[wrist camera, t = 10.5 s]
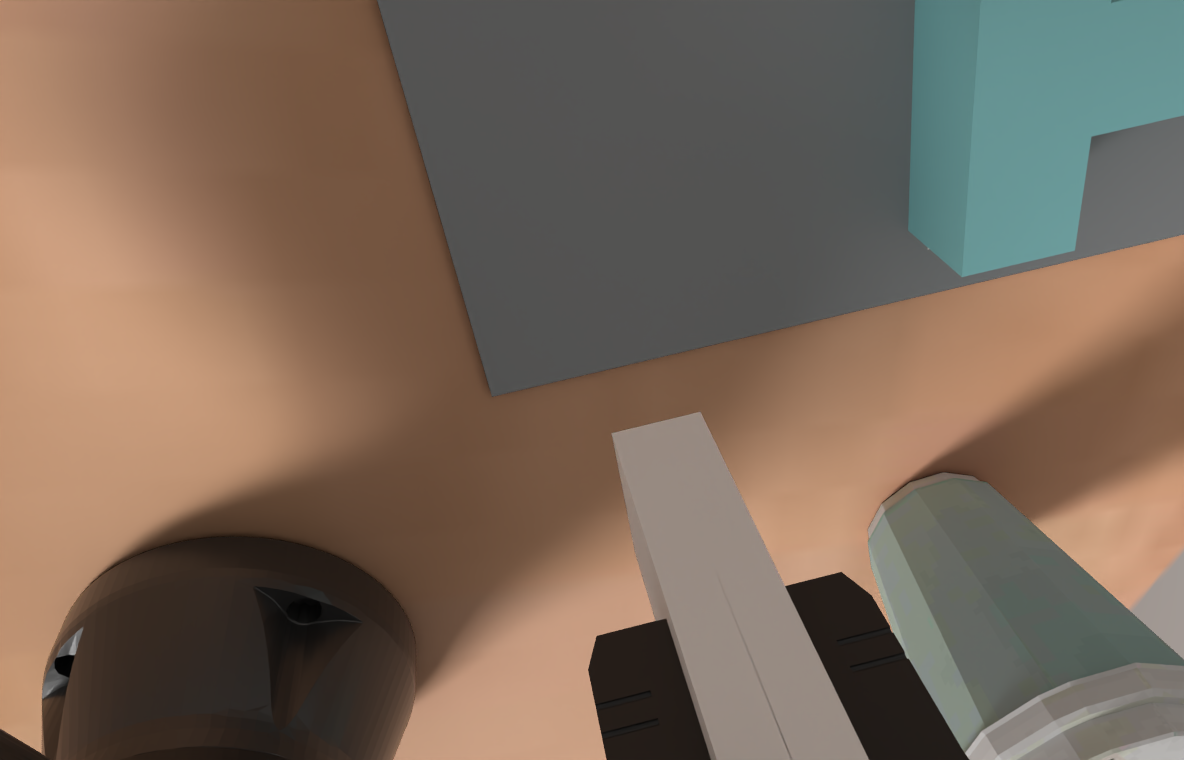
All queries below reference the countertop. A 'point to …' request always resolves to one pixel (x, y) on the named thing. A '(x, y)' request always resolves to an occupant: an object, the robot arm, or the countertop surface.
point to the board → (695, 171)
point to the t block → (1027, 115)
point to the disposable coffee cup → (1019, 633)
